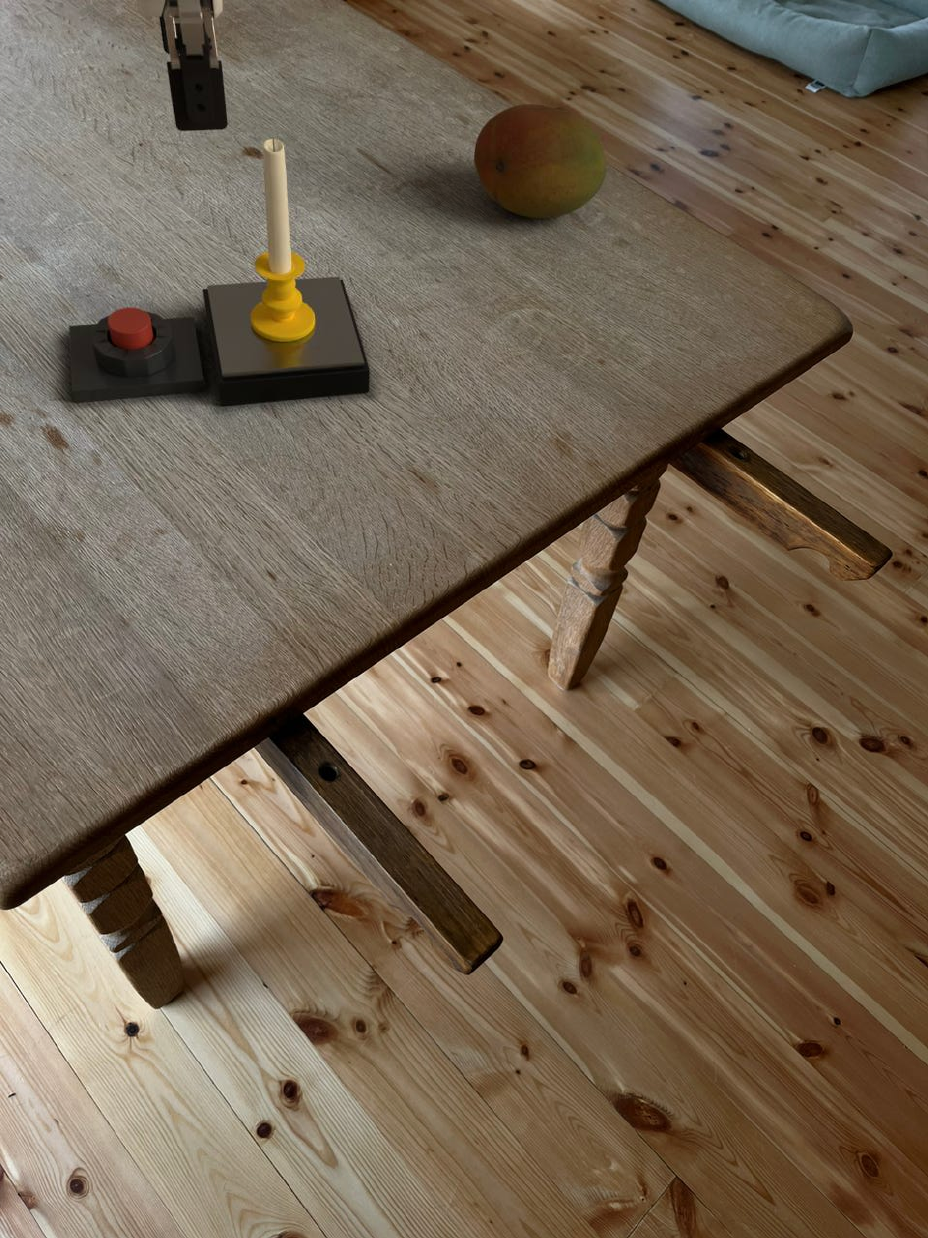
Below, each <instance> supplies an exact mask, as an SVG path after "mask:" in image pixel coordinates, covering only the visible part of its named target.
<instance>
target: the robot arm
mask: <svg viewBox="0 0 928 1238" xmlns="http://www.w3.org/2000/svg"><path fill="white" fill-rule="evenodd" d="M136 5H137V12H138V14H140V16H142V18H143V19H144V20H146V21H152V18H151V17H153V18H155V17H156V18H159V25H160V26H159V27H160V31H161V33H160V34H161V40H162V47H163V50H164V52H165V53H166V54H168V55H169V59H170V60H169V61H166V67H167V75H168V82H169V89H170V97H171V103H172V111H173V117H174V123H175V127H176V129H177V130H178V131H179V132H193V131H220V130H225V129H226V128H227V127H228V125H229V123H228V122H229V121H228V111H227V103H226V101H227V100H226V92H225V90H226V89H225V79H224V71H223V63H222V60H219V55H218V48H217V47H218V46H217V40H216V32H215V24H214V20H216V19H217V18H218V17H219V16H220V15H221V14H222V13H223V0H136Z"/></svg>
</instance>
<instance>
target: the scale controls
mask: <svg viewBox="0 0 928 1238" xmlns="http://www.w3.org/2000/svg"><path fill="white" fill-rule="evenodd" d="M144 311H145V312H146V313H147V314H148V315H149V317H150V321H151V326H152V332H153V340H152V342H151V344H150V345H148V346H146V347H144V348H142V349H135V350H124V349H120V348H118V347H116V346H115V345H114V344H113V342H112V339H111V335H110V330H109V326H108V318H109V316H110V315H111V314H109V315H107V316H104V317H102V318H100V319H99V321H98V322H97V323H91V324H90V323H89V324H79V325H78V324H77V325H69V326H68V334H69V336H68V337H69V355H70V372H71V374H70V376H71V392H72V396H73V399H74V403H76V404H77V403H78V404H79V403H88V402H99V401H111V400H120V399H121V400H122V399H132V398H133V399H134V398H143V397H155V396H165V395H177V394H185V393H186V394H188V393H199V392H206V385H205V384H206V383H205V377H204V370H203V364H202V358H201V351H200V346H199V339H198V333H197V326H196V319H195V316H186V317H172V318H171V317H170V318H163V317H162V316H160V314H158V313H155V312H150V311H147V310H144Z"/></svg>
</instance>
